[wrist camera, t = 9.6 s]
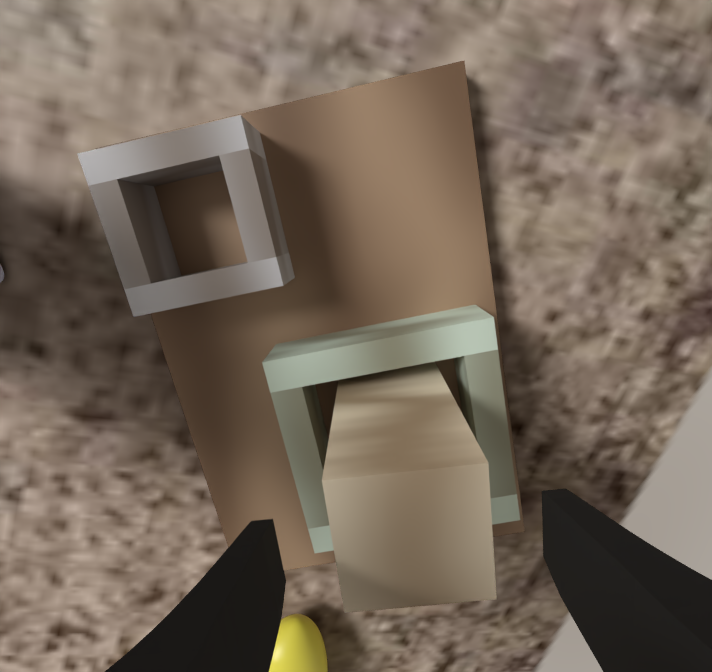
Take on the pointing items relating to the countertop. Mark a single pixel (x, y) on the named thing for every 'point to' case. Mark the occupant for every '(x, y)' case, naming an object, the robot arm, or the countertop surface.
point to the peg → (407, 494)
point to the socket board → (311, 282)
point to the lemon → (299, 646)
